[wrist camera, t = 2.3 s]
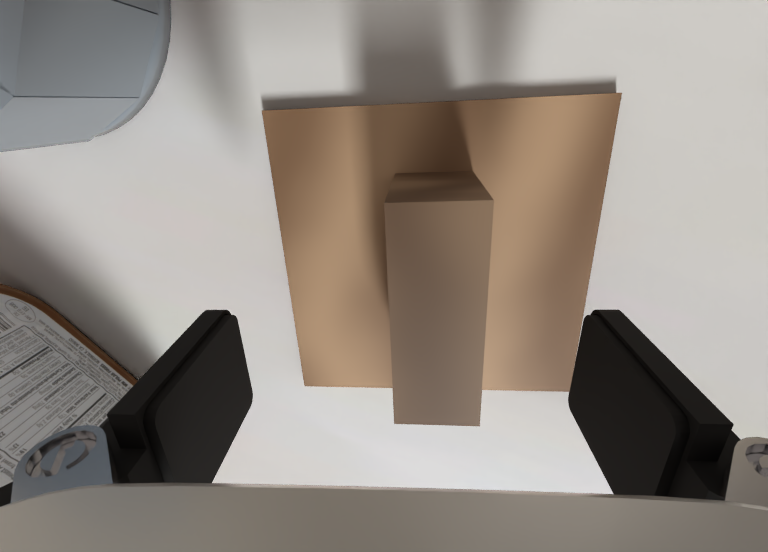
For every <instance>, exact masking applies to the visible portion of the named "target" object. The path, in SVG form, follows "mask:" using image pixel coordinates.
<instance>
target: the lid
mask: <svg viewBox="0 0 768 552" xmlns="http://www.w3.org/2000/svg"><path fill="white" fill-rule="evenodd" d="M621 95H622V93H607V94H586V95H566V96H546V97H526V98H506V99H486V100H466V101H446V102H426V103H406V104H386V105H366V106H346V107H326V108H305V109H285V110H265V111H262V115H263V121H264V127H265V134H266V140H267V147H268V153H269V160H270V166H271V173H272V179H273V185H274V192H275V198H276V205H277V211H278V218H279V224H280V231H281V237H282V243H283V250H284V256H285V263H286V269H287V276H288V282H289V289H290V295H291V301H292V308H293V314H294V321H295V327H296V334H297V340H298V347H299V353H300V359H301V366H302V372H303V379H304V385H305V386H323V387H371V388H393V406H394V424H423V425H456V426H480V411H481V396H482V390H515V391H563V392H569V391H570V386H571V381H572V376H573V371H574V365H575V359H576V353H577V348H578V342H579V336H580V330H581V325H582V319H583V313H584V307H585V302H586V296H587V290H588V284H589V279H590V273H591V267H592V261H593V256H594V250H595V244H596V238H597V233H598V227H599V221H600V215H601V210H602V204H603V198H604V192H605V187H606V181H607V175H608V169H609V164H610V158H611V152H612V146H613V141H614V135H615V129H616V123H617V118H618V112H619V106H620V100H621Z"/></svg>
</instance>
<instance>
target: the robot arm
mask: <svg viewBox="0 0 768 552" xmlns="http://www.w3.org/2000/svg"><path fill="white" fill-rule="evenodd" d="M252 399H253V393H252V387H251V383H250V378H249V373H248V368H247V363H246V359H245V354H244V349H243V344H242V339H241V335H240V330H239V325H238V320H237V318H236V316H235V315H231V313H230V312H229V311H228V310H206V311H204V312H203V313H202V314H201V315H200V316H199V317H198V318H197V319H196V320H195V322H194V323H193V324H192V325H191V326H190V327H189V328H188V329H187V330H186V331H185V332H184V333H183V334H182V335H181V336H180V337H179V338H178V339H177V341H176V342H175V343H174V344H173V345H172V346H171V347H170V348H169V349H168V350H167V351H166V352H165V353H164V354H163V355H162V356H161V357H160V358H159V359H158V361H157V362H156V363H155V364H154V365H153V366H152V367H151V368H150V369H149V370H148V371H147V372H146V373H145V374H144V375H143V376H142V377H141V378H140V379H139V381H138V382H137V383H136V384H135V385H134V386H133V387H132V388H131V389H130V390H129V391H128V392H127V393H126V394H125V395H124V396H123V397H122V398H121V399H120V401H119V402H118V403H117V404H116V405H115V406H114V407H113V408H112V409H111V410H110V411H109V412H108V413H107V417H108V419H109V421H108V422H107V423H106V424H105V425H104V426H103V427H102V428H100V427H98V426H94V425H82V426H75V427H72V428H69V429H65V430H62V431H60V432H58V433H56V434H54V435H51V436H49V437H47V438H46V439H44V440H43V441H41V442H40V443H38V444H36V445H35V446H34V447H33V448H32V449H30V450H29V451H28V452H27V453H26V454H25V455H24V456H23V457H22V459H21V460H20V461H19V462H18V464H17V466H16V469H15V472H14V478H13V482H11V483H9V484H7V485H4V486H2V487H0V552H768V439H767V438H761V437H749V438H744V439H742V440H740V439H739V438H738V437H737V436H736V435H735V433H734V432H733V431H732V430H731V429H732V427H733V425H734V424H733V423H732V422H731V421H730V420H729V419H728V418H727V417H726V416H725V415H724V414H723V413H722V412H721V411H720V410H719V409H718V408H717V407H716V406H715V405H714V404H713V403H712V402H711V401H710V400H709V399H708V398H707V397H706V396H705V395H704V394H703V393H702V392H701V391H700V390H699V389H698V388H697V387H696V386H695V385H694V384H693V383H692V382H691V381H690V380H689V379H688V378H687V377H686V376H685V375H684V374H683V373H682V372H681V371H680V370H679V369H678V368H677V367H676V366H675V365H674V364H673V363H672V362H671V361H670V360H669V359H668V358H667V357H666V356H665V355H664V354H663V353H662V352H661V351H660V350H659V349H658V348H657V347H656V346H655V345H654V344H653V343H652V342H651V341H650V340H649V339H648V338H647V337H646V336H645V335H644V334H643V333H642V332H641V331H640V330H639V329H638V328H637V327H636V326H635V325H634V324H633V323H632V322H631V321H630V320H629V319H628V318H627V317H626V316H625V315H624V314H623V313H622V312H621V311H620V310H594V311H593V312H592V313H591V315H587V316H586V317H585V318H584V321H583V326H582V331H581V336H580V341H579V346H578V351H577V356H576V361H575V366H574V371H573V376H572V381H571V386H570V391H569V397H568V402H569V407H570V410H571V413H572V414H573V416H574V418H575V420H576V422H577V424H578V426H579V428H580V430H581V432H582V434H583V436H584V438H585V440H586V441H587V443H588V445H589V447H590V449H591V451H592V453H593V455H594V457H595V459H596V461H597V463H598V465H599V466H600V468H601V470H602V472H603V474H604V476H605V478H606V480H607V482H608V484H609V486H610V488H611V490H612V492H613V493H614V494H594V493H563V492H533V491H502V490H471V489H436V488H400V487H362V486H321V485H273V484H226V483H212V481H213V479H214V477H215V475H216V473H217V472H218V470H219V468H220V466H221V464H222V462H223V460H224V458H225V456H226V454H227V452H228V450H229V448H230V446H231V444H232V442H233V440H234V438H235V436H236V434H237V432H238V430H239V428H240V426H241V424H242V422H243V420H244V418H245V416H246V414H247V412H248V410H249V409H250V406H251V404H252Z"/></svg>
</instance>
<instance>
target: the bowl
mask: <svg viewBox="0 0 768 552" xmlns="http://www.w3.org/2000/svg"><path fill="white" fill-rule="evenodd" d="M170 28H171V7H170V0H0V152H4V151H12V150H20V149H29V148H37V147H45V146H53V145H61V144H70V143H78V142H86V141H90V140H91V139H92V138H94V137H97V136H100V135H104V134H107V133H109V132H111V131H113V130H115V129H117V128H119V127H121V126H122V125H124V124H125V123H126V122H128V121H129V120H131V119H132V118H133V117H134V116H135V115H136V114H137V113H138V112H139V111H140V110H141V109H142V108H143V107H144V105H145V104H146V102H147V101H148V100H149V98H150V97H151V95H152V94H153V92H154V90H155V88H156V86H157V84H158V82H159V80H160V77H161V74H162V71H163V68H164V65H165V62H166V58H167V52H168V47H169V42H170Z"/></svg>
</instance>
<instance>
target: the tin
mask: <svg viewBox="0 0 768 552" xmlns="http://www.w3.org/2000/svg"><path fill="white" fill-rule="evenodd" d="M137 382H138V381H137V380H136V379H135V378H134V377H133V376H132V375H130V374H129V373H128V372H127V371H126V370H125V369H123V368H122V367H121V366H120V365H119V364H118V363H116V362H115V361H114V360H113V359H112V358H111V357H109V356H108V355H107V354H106V353H105V352H104V351H102V350H101V349H100V348H99V347H98V346H96V345H95V344H94V343H93V342H92V341H91V340H89V339H88V338H87V337H86V336H85V335H84V334H82V333H81V332H80V331H79V330H78V329H77V328H75V327H74V326H73V325H72V324H71V323H69V322H68V321H67V320H66V319H65V318H64V317H62V316H61V315H60V314H59V313H58V312H57V311H55V310H54V309H53V308H51V307H50V306H49V305H47V304H46V303H44V302H43V301H41V300H39V299H38V298H36V297H34V296H32V295H30V294H27V293H25V292H23V291H20V290H18V289H15V288H12V287H9V286H7V285H3V284H0V487H2V486H4V485H7V484H9V483H11V482H13V478H14V472H15V469H16V466H17V464H18V462H19V461H20V460H21V459H22V457H23V456H24V455H25V454H26V453H27V452H28V451H29V450H30V449H32V448H33V447H34V446H35V445H36V444H38V443H40V442H41V441H43V440H44V439H46V438H47V437H49V436H51V435H54V434H56V433H58V432H60V431H62V430H65V429H69V428H72V427H75V426H82V425H94V426H98V427H100V428H102V427H103V426H104V425H105V424H106V423H107V422H108V421H109V419H108V417H107V413H108V412H109V411H110V410H111V409H112V408H113V407H114V406H115V405H116V404H117V403H118V402H119V401H120V399H121V398H122V397H123V396H124V395H125V394H126V393H127V392H128V391H129V390H130V389H131V388H132V387H133V386H134V385H135V384H136V383H137Z"/></svg>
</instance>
